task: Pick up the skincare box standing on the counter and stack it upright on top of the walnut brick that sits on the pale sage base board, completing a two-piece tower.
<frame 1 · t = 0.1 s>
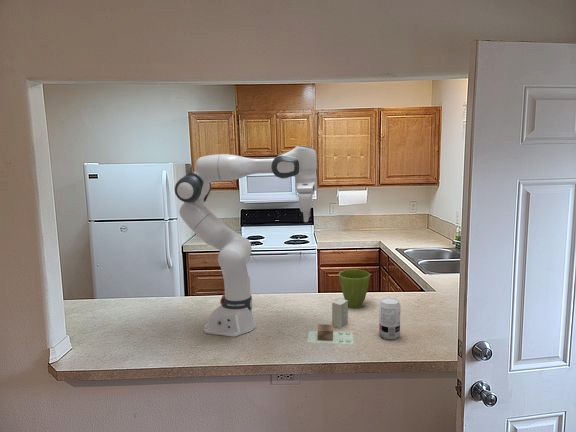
hand: (307, 219, 166), 48 cm above the worktop, fingers open, 8 cm apart
skincare box: (340, 328, 175), on the worktop
walnut brick: (325, 337, 163), point 1 cm above the worktop, touching base board
supplement can: (389, 336, 166), on the worktop
flower pot: (354, 305, 199), on the worktop
base board: (330, 340, 163), on the worktop
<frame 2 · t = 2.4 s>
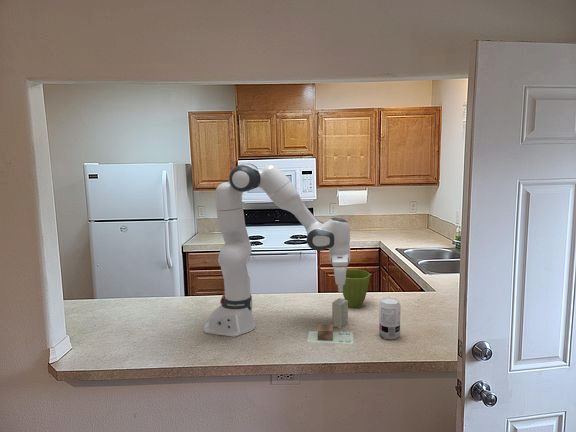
hand: (340, 288, 172), 18 cm above the worktop, fingers open, 8 cm apart
nothing on the worktop moved.
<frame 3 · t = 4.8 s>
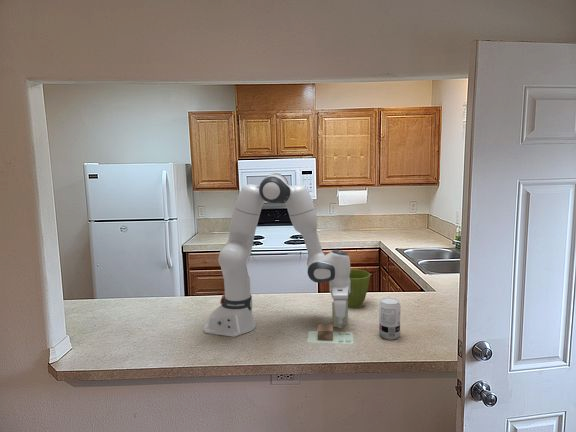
hand: (340, 318, 174), 4 cm above the worktop, fingers closed on skincare box, 7 cm apart
skincare box: (340, 328, 175), on the worktop, touching gripper
everything else where it was.
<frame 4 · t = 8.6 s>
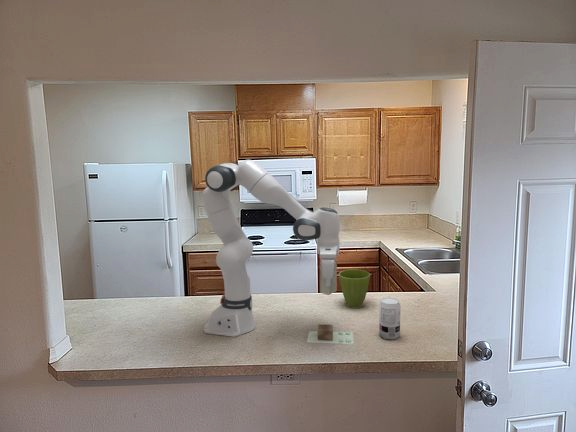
hand: (328, 282, 163), 24 cm above the worktop, fingers closed on skincare box, 7 cm apart
skincare box: (328, 292, 163), point 19 cm above the worktop, touching gripper
everything else where it was.
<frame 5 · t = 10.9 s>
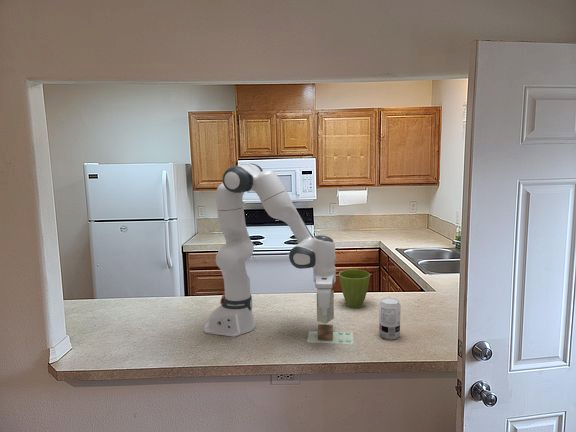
hand: (325, 310, 161), 13 cm above the worktop, fingers closed on skincare box, 7 cm apart
skincare box: (325, 320, 162), point 9 cm above the worktop, touching gripper
everything else where it was.
when the fingers open (11 cm above the worktop, at t = 12.7 s): skincare box drops 1 cm, resting on walnut brick.
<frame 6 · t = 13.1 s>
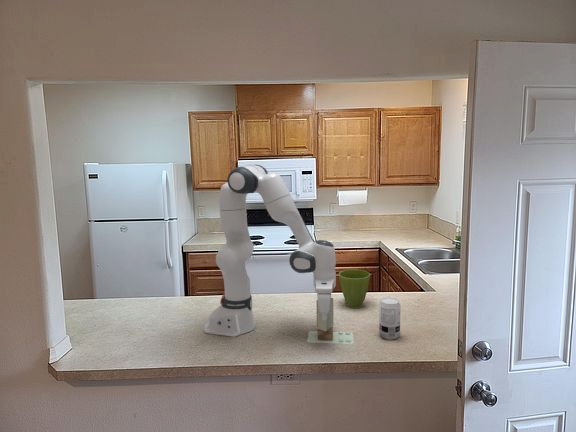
hand: (325, 314, 162), 11 cm above the worktop, fingers open, 8 cm apart
skincare box: (325, 328, 163), point 5 cm above the worktop, touching walnut brick
walnut brick: (325, 336, 163), point 1 cm above the worktop, touching base board, skincare box
everything else where it was.
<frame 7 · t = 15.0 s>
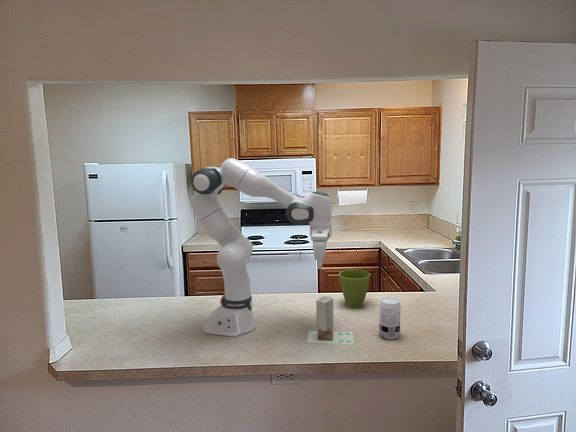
hand: (320, 264, 166), 29 cm above the worktop, fingers open, 8 cm apart
nothing on the worktop moved.
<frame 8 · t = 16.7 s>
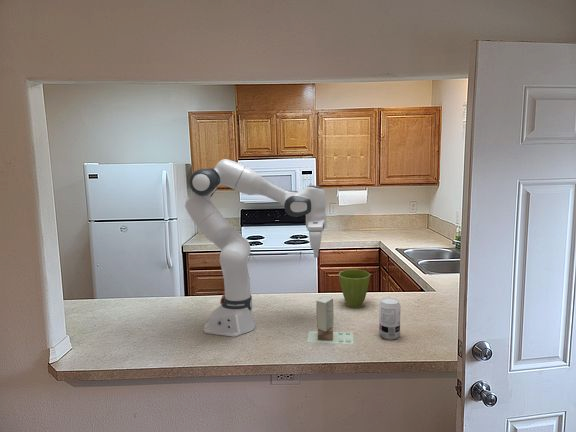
hand: (316, 254, 176), 31 cm above the worktop, fingers open, 8 cm apart
nothing on the worktop moved.
at the end: skincare box 0.1 cm off-centre on the walnut brick, point 3.8 cm above the walnut brick's base; skincare box tilted 0°; the gripper is holding nothing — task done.
